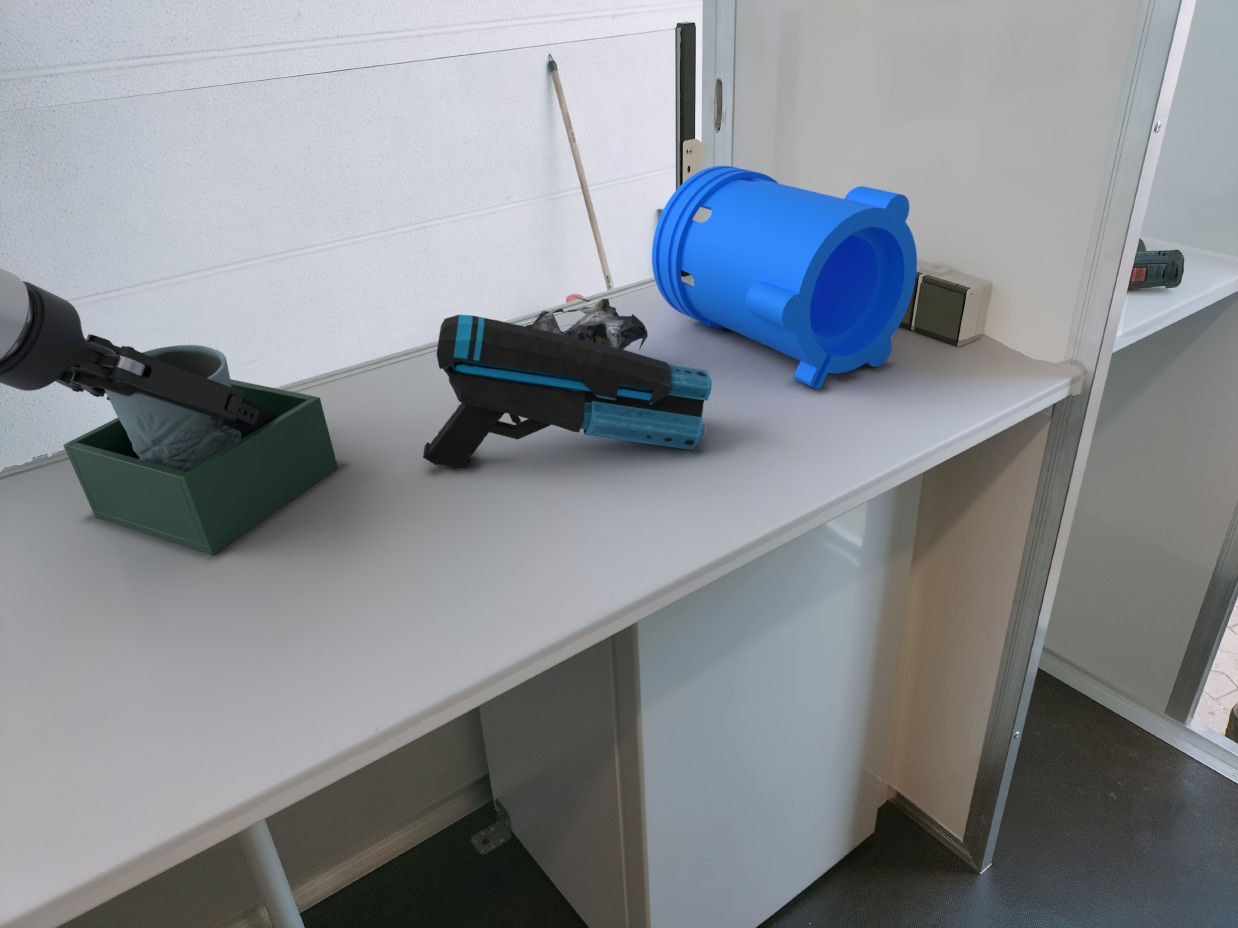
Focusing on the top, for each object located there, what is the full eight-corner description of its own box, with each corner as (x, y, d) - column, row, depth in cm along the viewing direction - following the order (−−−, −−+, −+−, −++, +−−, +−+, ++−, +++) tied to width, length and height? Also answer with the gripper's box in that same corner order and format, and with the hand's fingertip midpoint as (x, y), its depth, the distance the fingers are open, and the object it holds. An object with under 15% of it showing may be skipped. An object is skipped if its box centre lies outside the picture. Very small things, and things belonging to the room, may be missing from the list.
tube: (728, 343, 118) (624, 302, 106) (795, 190, 114) (695, 129, 101) (864, 406, 100) (757, 366, 87) (951, 228, 95) (851, 158, 83)
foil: (532, 319, 108) (615, 267, 98) (575, 394, 109) (660, 350, 99) (473, 349, 99) (557, 295, 89) (520, 429, 101) (607, 385, 91)
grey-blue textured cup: (247, 504, 79) (215, 388, 72) (128, 517, 77) (84, 399, 70) (261, 447, 87) (234, 339, 80) (155, 458, 85) (118, 348, 78)
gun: (685, 510, 86) (727, 377, 79) (419, 478, 80) (438, 330, 73) (672, 470, 93) (709, 343, 85) (425, 437, 87) (443, 299, 80)
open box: (95, 517, 79) (62, 444, 75) (226, 440, 91) (204, 373, 87) (213, 555, 73) (184, 478, 69) (338, 467, 85) (320, 397, 81)
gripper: (-127, 354, 65) (115, 436, 84) (96, 397, 56) (308, 477, 76) (-88, 264, 66) (142, 365, 86) (135, 292, 57) (333, 398, 77)
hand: (220, 418), depth 81 cm, fingers open, 12 cm apart
